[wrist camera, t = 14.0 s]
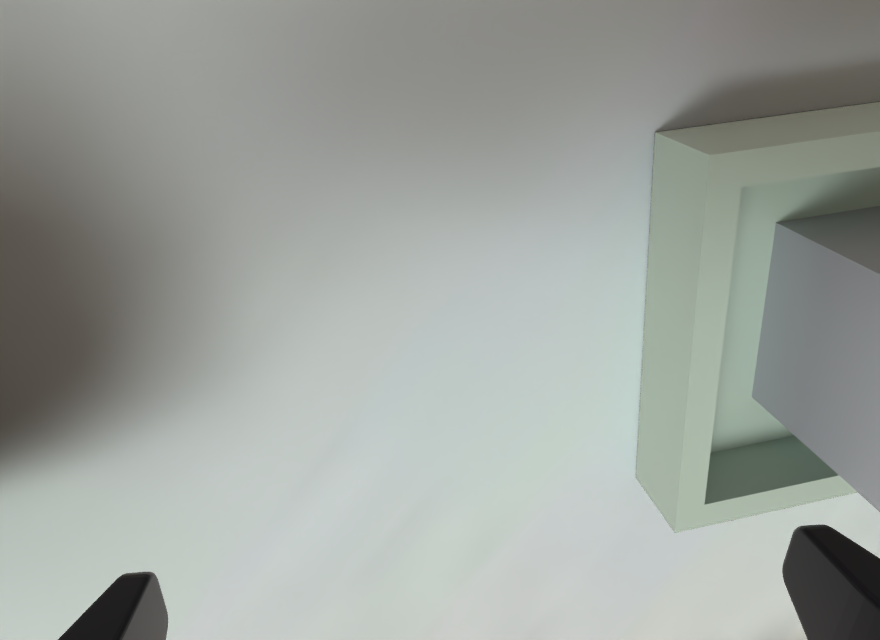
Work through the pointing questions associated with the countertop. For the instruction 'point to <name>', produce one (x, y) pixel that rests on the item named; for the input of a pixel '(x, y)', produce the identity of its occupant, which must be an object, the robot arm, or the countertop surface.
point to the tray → (734, 305)
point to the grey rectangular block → (826, 341)
